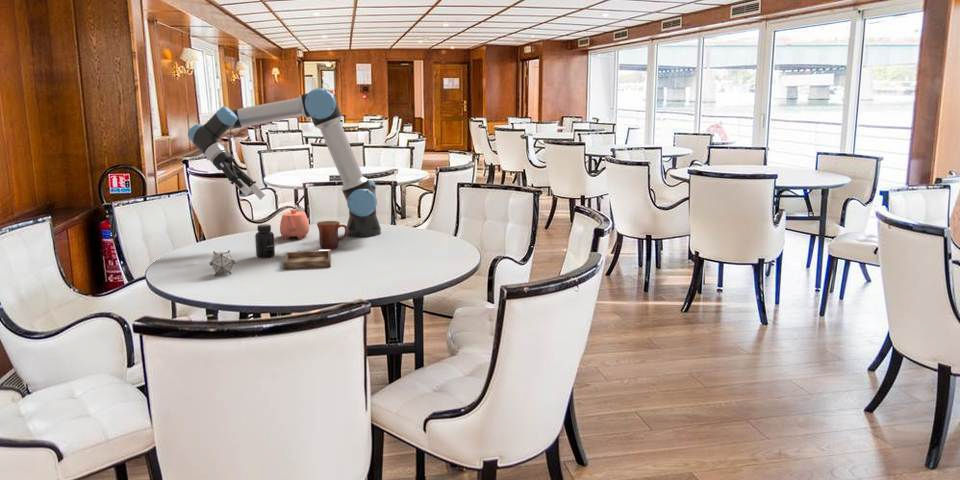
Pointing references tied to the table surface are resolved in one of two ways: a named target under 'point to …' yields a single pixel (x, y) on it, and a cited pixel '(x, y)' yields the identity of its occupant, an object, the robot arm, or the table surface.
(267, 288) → the table surface
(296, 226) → the teapot
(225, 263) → the game die
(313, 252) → the tray
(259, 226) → the supplement bottle
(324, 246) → the mug
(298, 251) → the pin
